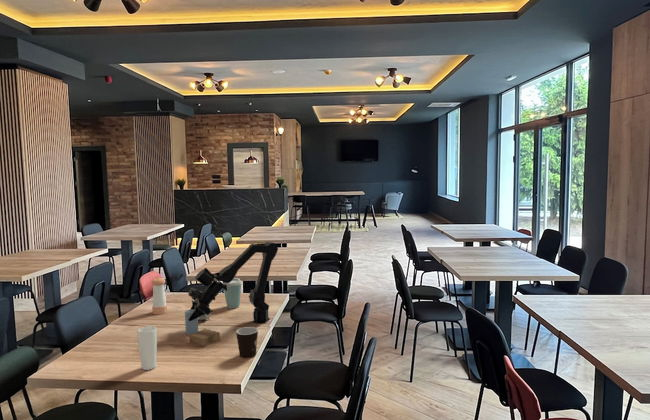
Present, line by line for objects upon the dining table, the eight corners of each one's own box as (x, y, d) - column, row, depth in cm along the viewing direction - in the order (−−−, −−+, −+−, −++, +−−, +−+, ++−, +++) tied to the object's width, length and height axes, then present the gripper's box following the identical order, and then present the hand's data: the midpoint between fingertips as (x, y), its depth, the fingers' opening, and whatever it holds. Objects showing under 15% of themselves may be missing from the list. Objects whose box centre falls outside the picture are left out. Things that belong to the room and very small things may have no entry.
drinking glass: (142, 364, 170) (140, 326, 169) (160, 363, 171) (158, 325, 169) (136, 372, 163) (134, 332, 162) (155, 371, 164) (153, 331, 163)
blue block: (196, 329, 207) (195, 308, 206) (198, 333, 203) (197, 311, 202) (185, 331, 205) (184, 310, 204) (187, 335, 201) (186, 313, 200)
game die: (206, 328, 220) (206, 316, 214) (191, 321, 221) (190, 309, 215) (215, 314, 227) (216, 302, 220) (201, 308, 228) (201, 296, 222)
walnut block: (205, 337, 198) (205, 328, 198) (219, 341, 193) (219, 332, 193) (189, 344, 191) (189, 335, 190) (204, 348, 186) (203, 338, 186)
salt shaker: (170, 311, 236) (168, 276, 235) (158, 315, 230) (156, 279, 229) (161, 309, 240) (159, 274, 239) (149, 313, 234) (147, 277, 232)
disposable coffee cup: (240, 309, 237) (239, 282, 236) (220, 310, 237) (219, 282, 236) (244, 303, 247) (243, 277, 246) (225, 304, 248) (224, 277, 246)
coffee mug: (248, 361, 171) (247, 336, 170) (232, 356, 176) (231, 332, 175) (267, 350, 181) (267, 327, 180) (252, 346, 185) (251, 323, 185)
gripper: (195, 277, 212) (172, 303, 208) (202, 286, 195) (177, 314, 191) (212, 291, 216) (190, 317, 212) (220, 301, 199) (196, 329, 195)
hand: (188, 318), depth 203 cm, fingers closed on blue block, 5 cm apart
